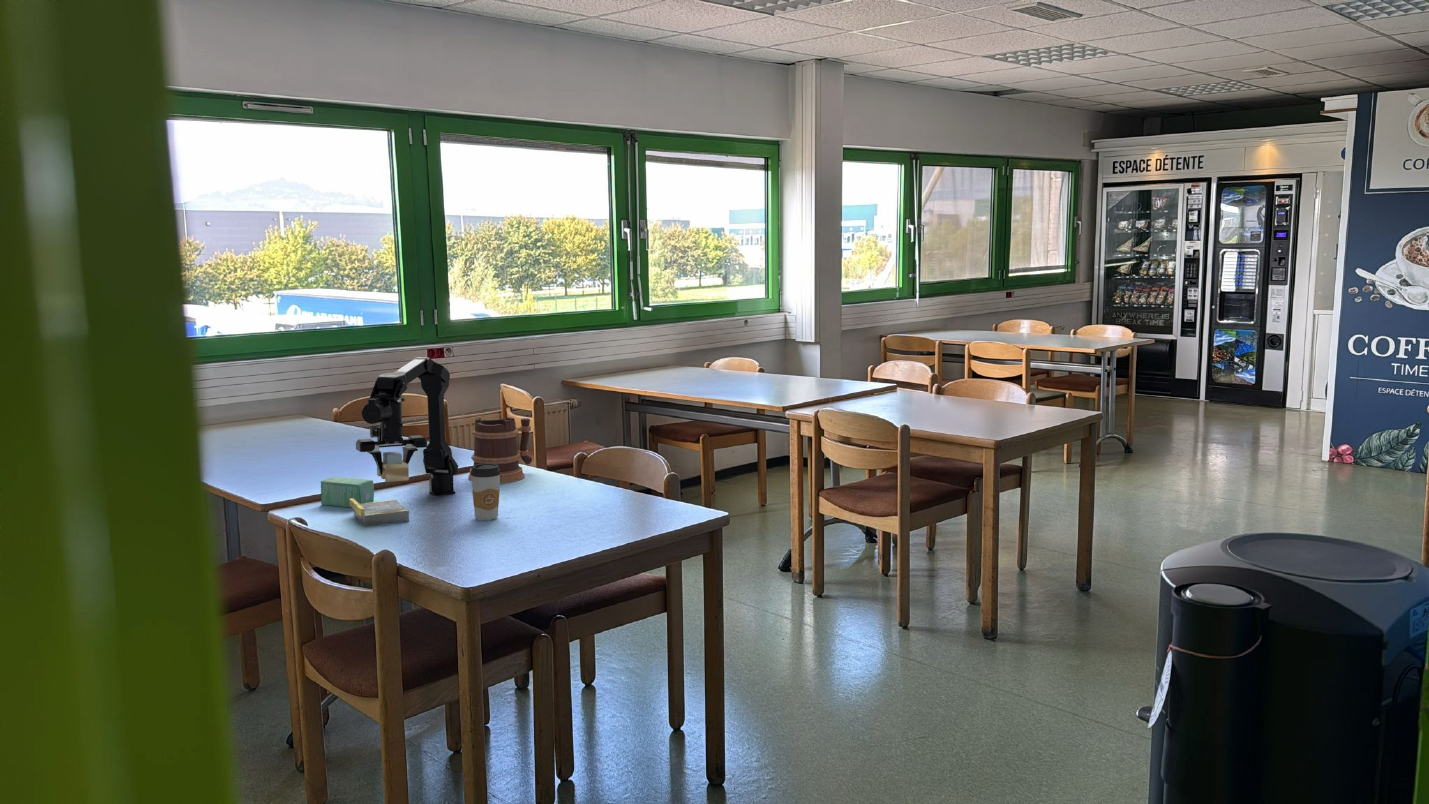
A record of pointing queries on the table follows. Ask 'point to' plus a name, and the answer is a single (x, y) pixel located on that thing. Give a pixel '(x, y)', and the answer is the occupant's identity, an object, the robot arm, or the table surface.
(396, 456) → the grey blue block
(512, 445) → the mug
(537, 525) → the table surface
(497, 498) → the coffee cup
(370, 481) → the box
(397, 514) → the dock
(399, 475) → the tan stepped block
